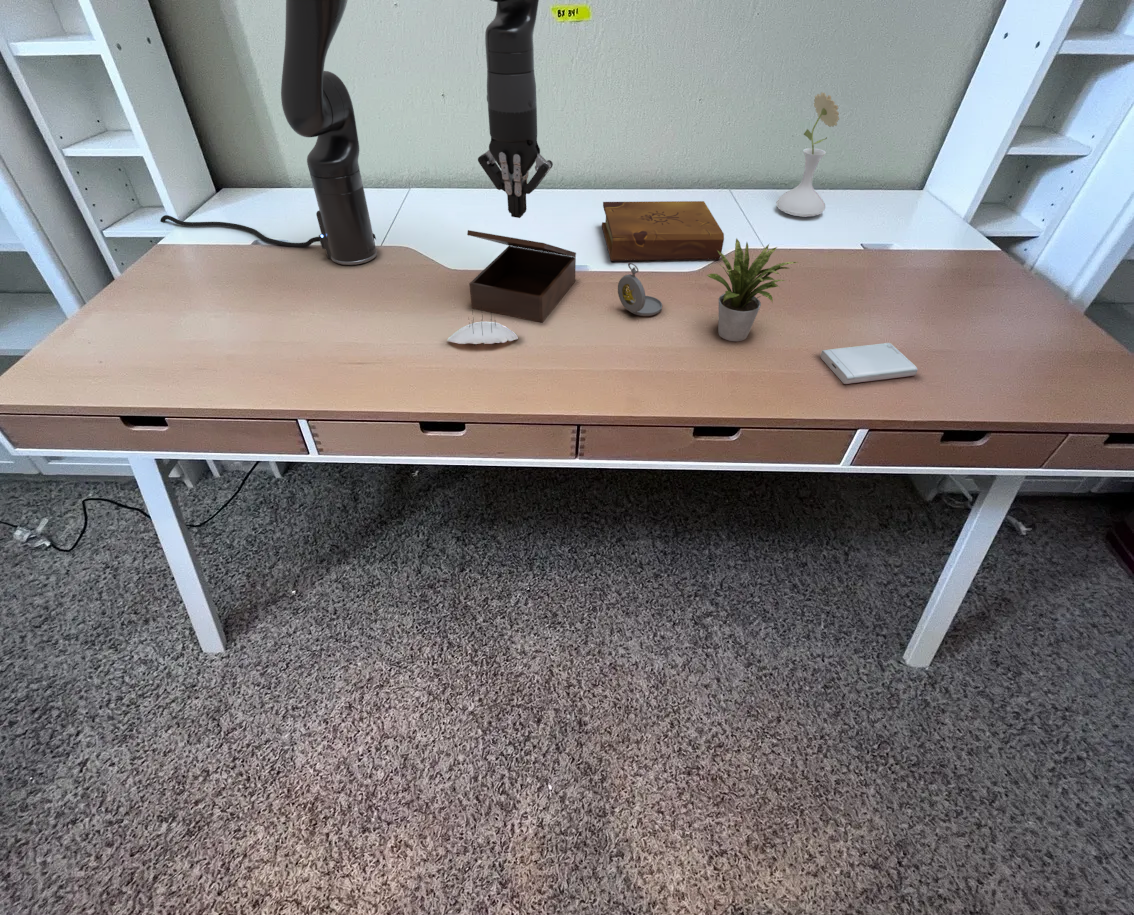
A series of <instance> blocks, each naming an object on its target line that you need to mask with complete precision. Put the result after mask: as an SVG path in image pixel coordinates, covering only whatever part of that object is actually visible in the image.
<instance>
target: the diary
mask: <svg viewBox="0 0 1134 915" xmlns="http://www.w3.org/2000/svg"><path fill="white" fill-rule="evenodd" d="M602 207H603V211H604V215H605V222H603V221H602V222H601V229H602V233H603V236H604V240H605V243H606V248H607V251H608V255H609V259H610V261H611V262H613V261H614V262H615V261H616V262H618V261H621V262H624V261H625V262H626V261H628V262H629V261H701V260H703V261H704V260H707V261H709V260H711V261H712V260H720V259H721V258H722V257H721V256H720V254H719V253H718V251H719V252H721V253H723V251H722V250H723V247H724V242H725V233H724V231H723V230H722V228H721V227H720V225H719V224H718V222H717V220H716V219H715V217H714V215H713V214H712V212H711V210H710V209H709V207H708V205H707V204H706V202H705V201H703V200H694V201H693V200H689V201H687V200H682V201H679V200H678V201H677V200H676V201H672V200H670V201H667V200H666V201H663V200H662V201H659V200H658V201H602ZM717 250H718V251H717Z"/></svg>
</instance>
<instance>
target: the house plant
mask: <svg viewBox="0 0 1134 915" xmlns="http://www.w3.org/2000/svg"><path fill="white" fill-rule="evenodd" d="M734 245H735V246H734V257H733V259H734V260H733V268H732V266H731V263H730V261H729V260H728V258H727V257H726V256H725V255H724V254H723V252H719V251H718V250H717V251H718V253H719V254H720V256H721V257H720V258H721V260H722V262H723V264H724V265H725V267H726V268H725V267H724V266H723V265H722V264H720V267H721V268H722V269H723V270H724V272H725V273H726V274H727V276H728V279H729V281H730V284H731V287H730V285H729V283H728V282H727V281H726V279H724V277H722V276H721V275H719V274H718V273H708V274H707V275H706V277H708V278H710V279H711V280H715V281H717V282H719V283H720V284H722V285H723V286H724V287H725V288H726V290H725V292H724V293H722V294H721V295H720V296H719V298H718V317H717V318H718V322H717V323H718V324H717V325H718V330H717V331H718V336H720V338H722V339H723V340H726V341H729V342H741V341H744V340H746V339H747V338H748V336H749V334H750V331H751V329H752V327H753V324H754V322H755V320H756V317H757V315H758V313H759V311H760V308H761V306H762V303H761V300H760V299H759V298H761V297H765V298H767V299H768V300H770V301H771V304H774V301H773V300H774V299H773V295H772V294H771V293H770V292H769V291H766V290H769V289H772V288H780V285H778V282H785V281H786V279H775V278H773V277H771V276H770V275H771V274H775V275H779V276H781V274H780V273H779V272H778V271H779V270H788V269H789V267H787V266H786V265H793V264H797V263H798V261H787V262H786V261H785V262H781V263H777V264H775V265H773V266H771V267H768V268H764V266H766V264H767V263H768V261H769V260H770V257H771V256H772V254H773V253H774V252H775V251H776V250H777V248H778V246H776V247H773V248H771V249H769V246H770V243H768V244H767V245H766V246H765V247H764V248H763V249H762V251H761V252H760V254H759V255H758V256H757V257H756V258H755V259H754V260H753V262H752V263H751V265H750V252H749V243H748V242H746V243H745V249H744V250H743V248H742V247H741V242H740V240H739V239H738V238H736V239H735V244H734ZM768 249H769V250H768ZM749 266H750V267H749ZM765 281H769V282H765ZM762 282H764V283H763V284H761V283H762ZM758 294H760V296H757V295H758Z"/></svg>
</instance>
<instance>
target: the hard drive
mask: <svg viewBox="0 0 1134 915" xmlns="http://www.w3.org/2000/svg"><path fill="white" fill-rule="evenodd" d="M819 357H820V359H821V360H822V361H823V362H824V363H825V365H826V366H827V367H828V368H829V369H830V370H831V371H832V373H834V375H835V376H836V377H837V378H838V379H839V380H840V381H841V383H842V384H844V385H848V384H856V383H866V382H872V381H874V382H875V381H882V380H889V379H897V378H905V377H913V376H916V375H917V372H918V370H919V369H918V367H917V366H916V365H915V364H914V363H913V362H912V361H911V360H910V359H909V358H907V356H905V354H903V353H902V352H901V351H900V350H899V349H898V348H896V346H894V345H893V344H892V343H891V342H884V343H875V344H874V343H873V344H865V345H857V346H848V347H839V348H838V347H837V348H831V349H822V350H821V352H820V355H819Z"/></svg>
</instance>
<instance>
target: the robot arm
mask: <svg viewBox="0 0 1134 915" xmlns="http://www.w3.org/2000/svg"><path fill="white" fill-rule="evenodd" d="M489 1H490V2H495V3H496V11H495V16H494V18H493V20H492V21H491V22H489V24H488V25H487V26H486V29H485V31H484V32H485V33H484V44H485V45H484V46H485V47H484V48H485V60H486V101H487V112H488V126H489V129H488V130H489V137H490V142H489V144H488V150H487V151H485V152H484V153H482V154H481V155H479V157H477V163H478V164H479V165H480V167H481V168H482V169H483V171H484V172H485V174H486V175H487V177H488V178H489V180H490V182H492V184H493V186H494V187H495V188H496V190H497V191H501V190H502V192H503V191H504V192H505V194H506V196H507V211H508V213H509V214H510V216H511V217H512V218H517V219H520V218H522V217H523V216H524V214H525V213H526V212H527V210H528V209H527V195H530V194H531V193H532V192H533V191H535V190H536V189H537V188H538V186H539V185H540V184H541V183H542V181H543V180H544V178H545V177H546V176H547V174H548V173H549V172H550V171H551V169H552V168H553V166H554V164H553V161H552V160H550V159H546V158H544V157H543V155H542V154H541V148H540V146H539V144H538V104H537V102H538V101H537V83H536V77H535V58H534V57H535V54H534V52H535V49H534V31H535V26H536V21H537V14H538V8H539V1H540V0H489ZM347 5H348V0H285V36H284V37H285V39H284V52H283V62H282V75H281V85H280V99H281V107H282V112H283V115H284V117H285V120H286V121H287V124H288V125H289V127H290V128H291V129H292V130H293V131H294V133H296V134H297V135H299V136H301V137H304V138H316V142H315V144H314V146H313V147H312V148H311V150H310V152H309V153H308V154H307V157H306V164H307V168H308V172H309V176H310V179H311V184H312V187H313V188H312V189H313V192H314V195H315V199H316V202H317V207H318V209H319V210H317V211H316V212H315V214H316V219H317V223H318V226H319V230H320V234H319V235H318V236H315V237H311V238H309V239H308V240H307V241H303V242H289V241H283V240H278V239H273V238H270V237H268V236H265V235H264V234H262V233H261V232H260V231H258V230H257V229H255V228H253V227H249V226H246V225H243V224H239V223H235V222H234V223H232V222H225V221H185V220H184V221H183V220H180V219H178V218H176V217H174V216H171V215H169V214H165V215H163V216H162V217H161V218H160V220H159V222H160V223H165V222H166V220H168V221H171V222H173V223H175V224H177V225H180V226H184V227H226V228H227V227H228V228H233V229H239V230H243V231H246V232H249V233H251V234H253V235H255V236H257V237H258V238H259V239H261V240H262V241H264V242H267V243H269V244H272V245H273V244H274V245H277V246H282V247H289V248H306V247H307V248H308V247H310V246H311V245H312V244H313V243H316V242H319V243H320V246H321V250H325V253H326V257H327V259H330V260H332V262H333V263H335V264H338V265H343V266H356V265H357V266H358V265H362V264H365V263H368V262H371V261H372V260H374V259H375V258H376V257H377V256H378V248H377V247H376V242H375V240H377V237H376V234H374V232H373V227H372V222H371V217H370V212H369V207H368V203H367V198H366V194H365V193H366V192H365V189H364V184H363V178H362V175H361V174H362V173H361V170H360V165H359V156H360V142H359V135H358V129H357V128H358V127H357V123H356V122H357V121H356V115H355V110H354V109H355V108H354V106H353V105H354V104H353V102H352V98H351V95H350V93H349V90H348V87H347V86H346V85H345V82H344V81H343V80H342V79H341V78H340V77H339V76H338V75H337V74H335V73H333V72H331V71H328V70H325V65H326V64H325V63H326V58H327V55H328V51H329V48H330V47H331V43H332V42H333V40H334V37H335V35H336V33H337V30H338V28H339V27H340V23H341V21H342V19H343V17H344V14H345V12H346V8H347ZM534 164H535V166H534ZM533 166H534V169H535V171H536V172H535V173H534V175H533V176H532V177H531V179H530V180H529V181H528V178H529V173H530V170H531V169H532V167H533Z"/></svg>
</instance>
